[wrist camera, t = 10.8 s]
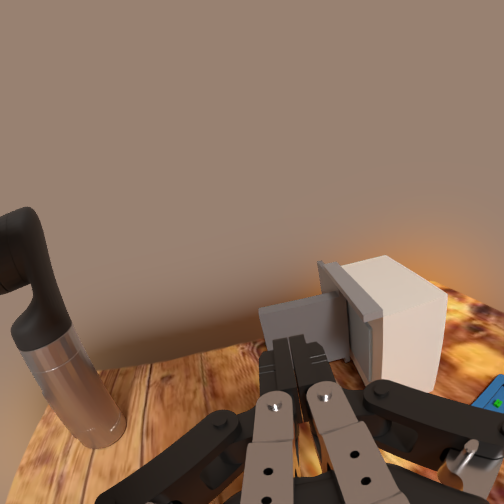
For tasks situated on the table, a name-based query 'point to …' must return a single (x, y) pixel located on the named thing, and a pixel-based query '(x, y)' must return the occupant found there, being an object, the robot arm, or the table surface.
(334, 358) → the side door
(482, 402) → the handheld gaming device
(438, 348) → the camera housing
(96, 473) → the table surface
